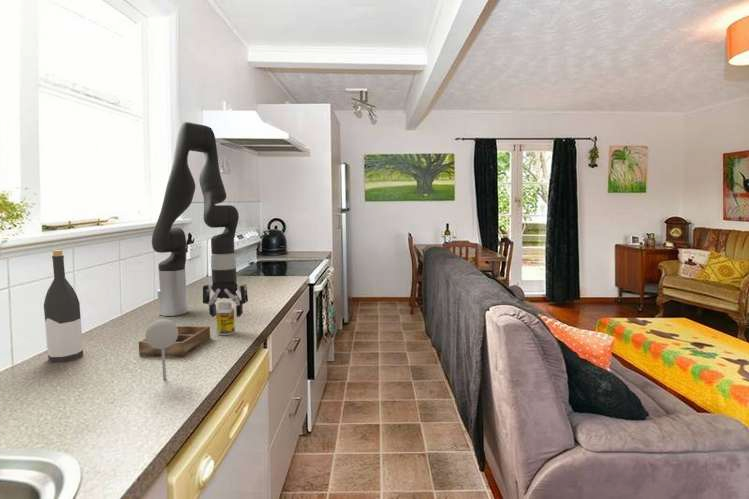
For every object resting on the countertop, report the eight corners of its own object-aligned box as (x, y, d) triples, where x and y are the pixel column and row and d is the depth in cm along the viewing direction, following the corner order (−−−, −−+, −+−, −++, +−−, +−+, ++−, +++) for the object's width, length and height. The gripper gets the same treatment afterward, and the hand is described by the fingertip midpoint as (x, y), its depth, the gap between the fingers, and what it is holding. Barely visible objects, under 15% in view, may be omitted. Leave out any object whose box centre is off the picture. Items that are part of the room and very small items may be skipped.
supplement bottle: (219, 337, 137) (218, 305, 136) (215, 332, 142) (213, 302, 141) (237, 334, 140) (235, 303, 139) (232, 329, 145) (231, 300, 144)
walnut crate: (139, 355, 121) (138, 341, 120) (171, 337, 137) (170, 325, 136) (183, 357, 120) (182, 343, 119) (210, 338, 135) (209, 326, 135)
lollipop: (155, 374, 108) (152, 315, 106) (185, 373, 108) (181, 315, 107) (143, 386, 101) (139, 323, 99) (174, 385, 101) (170, 323, 100)
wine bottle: (90, 354, 122) (82, 249, 119) (61, 364, 114) (52, 252, 111) (70, 351, 125) (61, 248, 121) (40, 360, 117) (31, 251, 114)
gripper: (249, 265, 142) (251, 313, 144) (208, 265, 143) (210, 313, 145) (240, 268, 135) (242, 319, 136) (196, 269, 136) (199, 319, 137)
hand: (226, 316), depth 140 cm, fingers open, 8 cm apart
